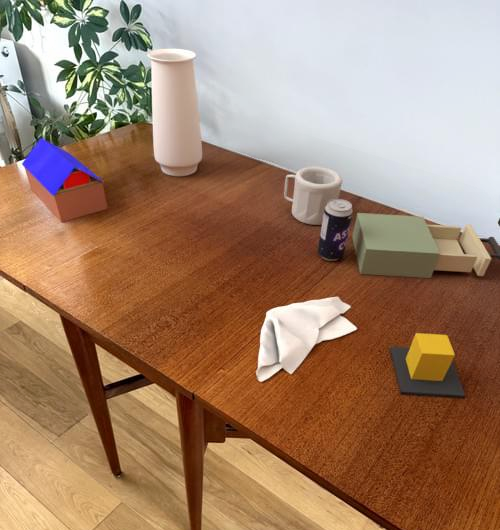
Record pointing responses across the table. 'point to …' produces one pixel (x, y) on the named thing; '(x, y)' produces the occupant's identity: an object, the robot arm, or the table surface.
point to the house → (63, 182)
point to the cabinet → (394, 245)
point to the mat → (424, 387)
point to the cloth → (298, 333)
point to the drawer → (453, 254)
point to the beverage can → (335, 229)
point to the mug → (313, 193)
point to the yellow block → (429, 357)
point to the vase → (175, 111)
